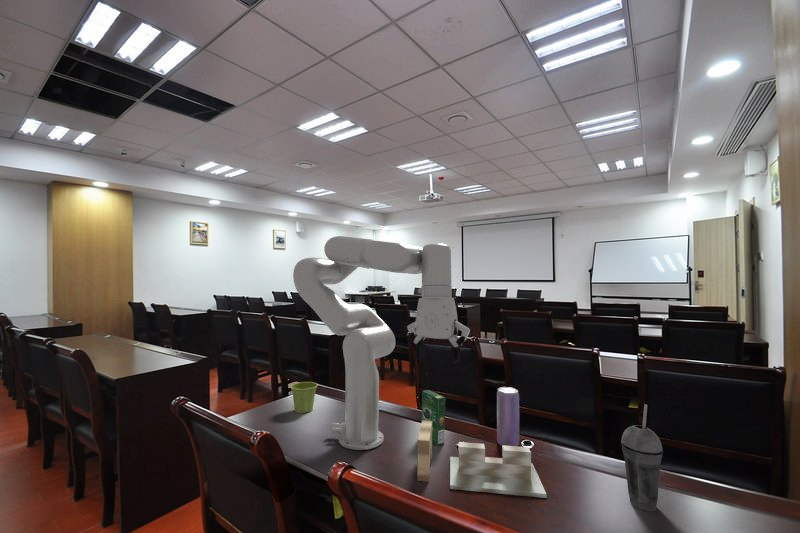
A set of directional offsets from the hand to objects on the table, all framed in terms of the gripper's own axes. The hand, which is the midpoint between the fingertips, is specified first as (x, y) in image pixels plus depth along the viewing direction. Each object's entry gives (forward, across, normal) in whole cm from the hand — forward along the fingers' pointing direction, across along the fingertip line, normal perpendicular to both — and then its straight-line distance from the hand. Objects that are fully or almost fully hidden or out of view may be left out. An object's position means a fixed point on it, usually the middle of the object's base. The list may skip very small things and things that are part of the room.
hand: (437, 360), depth 89 cm
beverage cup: (+26, +42, +10) cm, 50 cm away
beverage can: (+26, +11, +22) cm, 35 cm away
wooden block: (+25, -2, -3) cm, 25 cm away
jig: (+26, +13, +2) cm, 29 cm away
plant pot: (+24, -56, +6) cm, 62 cm away
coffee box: (+25, -8, +12) cm, 29 cm away
